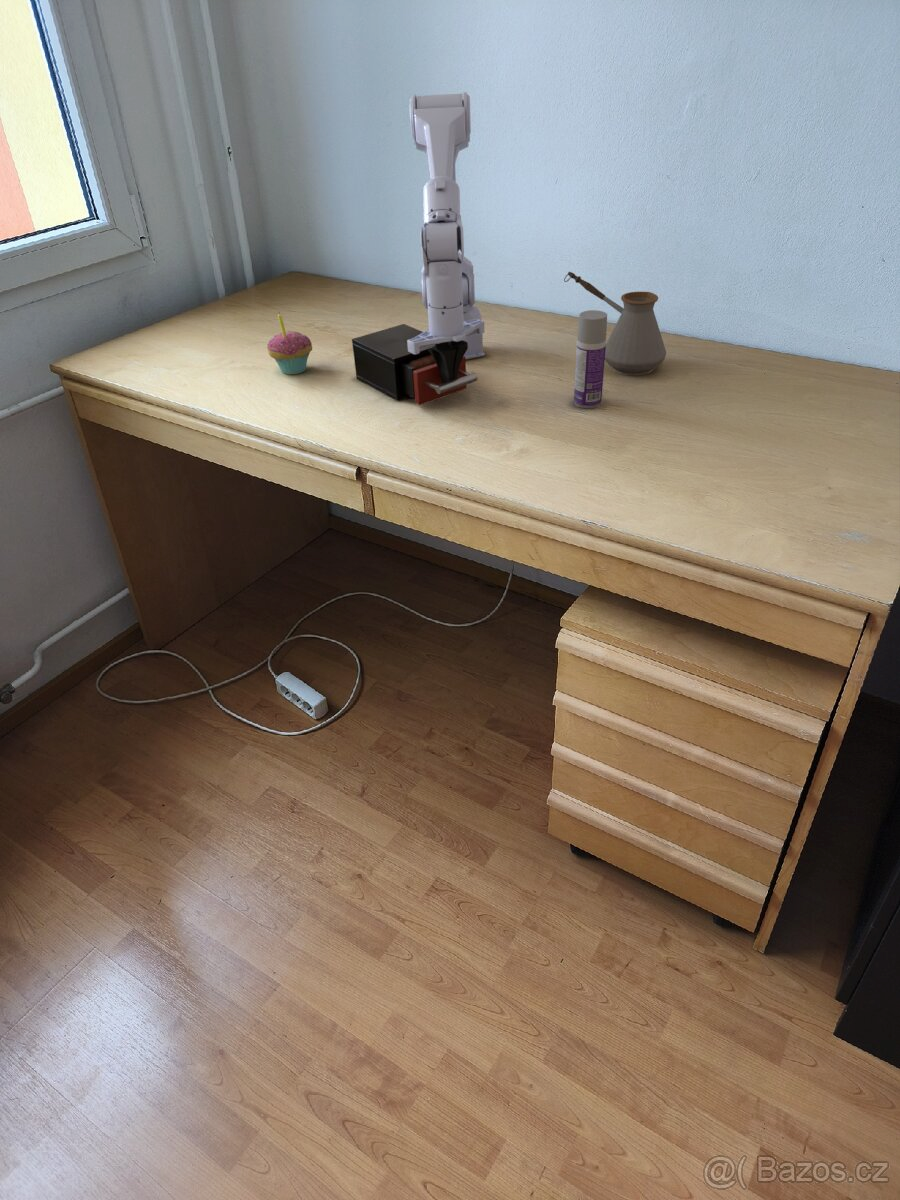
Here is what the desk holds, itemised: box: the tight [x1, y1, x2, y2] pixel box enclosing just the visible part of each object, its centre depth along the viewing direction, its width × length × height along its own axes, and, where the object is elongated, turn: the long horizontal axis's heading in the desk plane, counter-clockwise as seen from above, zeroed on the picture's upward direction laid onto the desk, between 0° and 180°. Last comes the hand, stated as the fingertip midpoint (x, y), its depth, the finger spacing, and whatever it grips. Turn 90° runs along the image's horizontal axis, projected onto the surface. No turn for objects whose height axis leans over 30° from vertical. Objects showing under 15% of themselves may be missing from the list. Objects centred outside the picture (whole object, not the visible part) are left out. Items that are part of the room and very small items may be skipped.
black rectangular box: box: [351, 323, 429, 401], centre depth 146 cm, size 14×12×8 cm
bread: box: [408, 355, 436, 370], centre depth 141 cm, size 6×4×4 cm, turn 128°
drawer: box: [398, 352, 479, 406], centre depth 140 cm, size 17×10×6 cm, turn 37°
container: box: [573, 309, 608, 410], centre depth 132 cm, size 5×5×15 cm
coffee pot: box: [563, 271, 667, 376], centre depth 146 cm, size 21×12×15 cm, turn 49°
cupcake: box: [267, 310, 313, 375], centre depth 151 cm, size 9×8×12 cm
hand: (449, 384), depth 136 cm, fingers closed, pressing on drawer
